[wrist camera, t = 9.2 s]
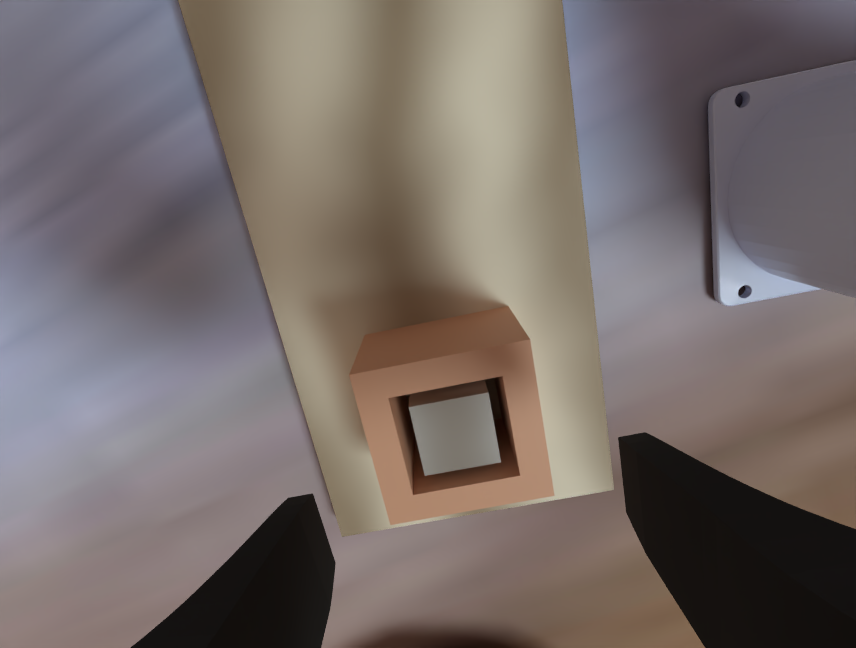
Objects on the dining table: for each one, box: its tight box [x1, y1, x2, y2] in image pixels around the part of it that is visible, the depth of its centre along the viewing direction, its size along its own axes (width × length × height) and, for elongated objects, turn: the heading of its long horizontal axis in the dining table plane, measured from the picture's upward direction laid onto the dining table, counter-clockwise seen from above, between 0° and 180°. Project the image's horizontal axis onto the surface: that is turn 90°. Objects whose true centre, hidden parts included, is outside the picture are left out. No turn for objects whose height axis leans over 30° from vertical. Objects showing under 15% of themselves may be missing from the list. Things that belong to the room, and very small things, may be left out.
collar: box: [349, 306, 554, 525], centre depth 17 cm, size 6×6×4 cm
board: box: [178, 0, 614, 537], centre depth 16 cm, size 12×28×5 cm, turn 11°
